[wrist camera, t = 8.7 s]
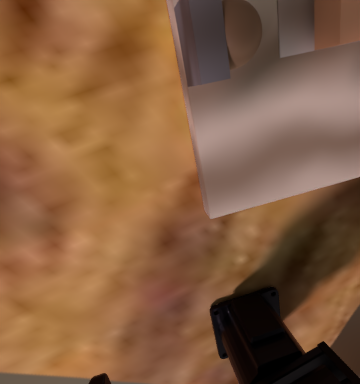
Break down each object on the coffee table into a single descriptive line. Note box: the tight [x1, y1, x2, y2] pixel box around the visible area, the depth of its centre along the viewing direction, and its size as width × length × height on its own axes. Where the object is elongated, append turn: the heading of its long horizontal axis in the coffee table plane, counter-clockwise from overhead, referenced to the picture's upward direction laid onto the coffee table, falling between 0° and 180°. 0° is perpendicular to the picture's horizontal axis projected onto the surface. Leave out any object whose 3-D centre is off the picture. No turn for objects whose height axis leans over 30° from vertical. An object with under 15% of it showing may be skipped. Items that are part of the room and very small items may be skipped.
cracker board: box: [166, 0, 360, 219], centre depth 16 cm, size 18×19×5 cm
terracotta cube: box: [314, 0, 360, 50], centre depth 15 cm, size 3×2×2 cm, turn 11°
